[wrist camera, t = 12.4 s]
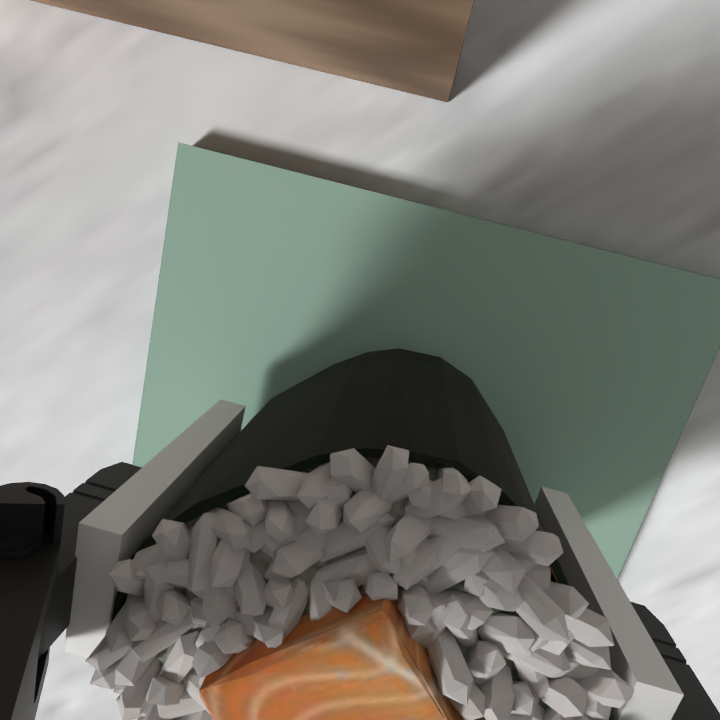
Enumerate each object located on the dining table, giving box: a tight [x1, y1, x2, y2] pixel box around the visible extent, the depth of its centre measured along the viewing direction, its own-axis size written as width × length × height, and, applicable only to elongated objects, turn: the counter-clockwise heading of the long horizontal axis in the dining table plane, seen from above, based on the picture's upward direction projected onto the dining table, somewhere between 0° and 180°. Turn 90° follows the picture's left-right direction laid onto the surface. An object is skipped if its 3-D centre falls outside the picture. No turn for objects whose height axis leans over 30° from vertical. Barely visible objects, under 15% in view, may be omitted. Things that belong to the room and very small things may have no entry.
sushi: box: [86, 348, 634, 720], centre depth 11 cm, size 8×8×8 cm
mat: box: [133, 142, 720, 578], centre depth 17 cm, size 16×16×1 cm
